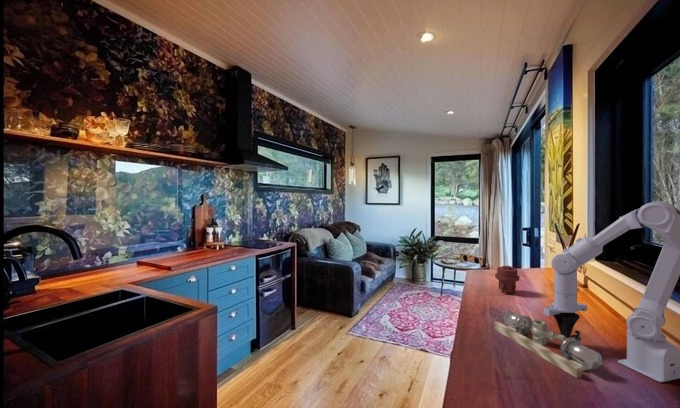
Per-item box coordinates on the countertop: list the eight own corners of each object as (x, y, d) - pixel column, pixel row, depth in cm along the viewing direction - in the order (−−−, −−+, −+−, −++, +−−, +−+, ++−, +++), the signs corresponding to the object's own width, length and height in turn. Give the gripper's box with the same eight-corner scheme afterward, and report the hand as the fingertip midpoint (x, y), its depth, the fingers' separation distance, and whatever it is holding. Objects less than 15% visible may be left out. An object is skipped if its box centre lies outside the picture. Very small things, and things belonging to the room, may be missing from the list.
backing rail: (581, 376, 77) (581, 367, 77) (576, 377, 77) (576, 368, 77) (497, 328, 105) (497, 321, 105) (493, 329, 105) (493, 321, 105)
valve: (529, 344, 94) (578, 358, 86) (529, 323, 94) (578, 335, 86) (534, 336, 99) (580, 349, 91) (534, 316, 99) (581, 327, 90)
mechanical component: (507, 297, 136) (490, 290, 146) (524, 294, 139) (506, 288, 149) (507, 270, 136) (490, 265, 145) (524, 267, 139) (506, 263, 148)
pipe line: (604, 372, 79) (604, 347, 79) (586, 376, 78) (586, 351, 77) (515, 325, 107) (515, 307, 107) (501, 328, 106) (501, 309, 106)
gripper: (571, 286, 99) (571, 327, 100) (534, 290, 96) (534, 332, 96) (594, 293, 92) (594, 337, 93) (555, 297, 89) (555, 343, 90)
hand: (565, 335), depth 94 cm, fingers closed
